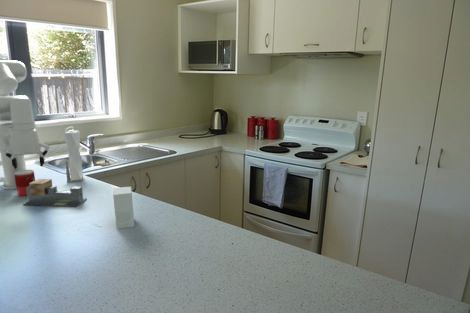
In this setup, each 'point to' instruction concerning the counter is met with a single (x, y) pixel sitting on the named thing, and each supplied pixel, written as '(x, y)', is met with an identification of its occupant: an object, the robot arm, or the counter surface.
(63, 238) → the counter surface
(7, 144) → the robot arm
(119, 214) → the small box
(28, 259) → the counter surface
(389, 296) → the counter surface
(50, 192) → the notched rail
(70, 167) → the skyscraper
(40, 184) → the tan slotted wooden block
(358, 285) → the counter surface
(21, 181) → the canned food
